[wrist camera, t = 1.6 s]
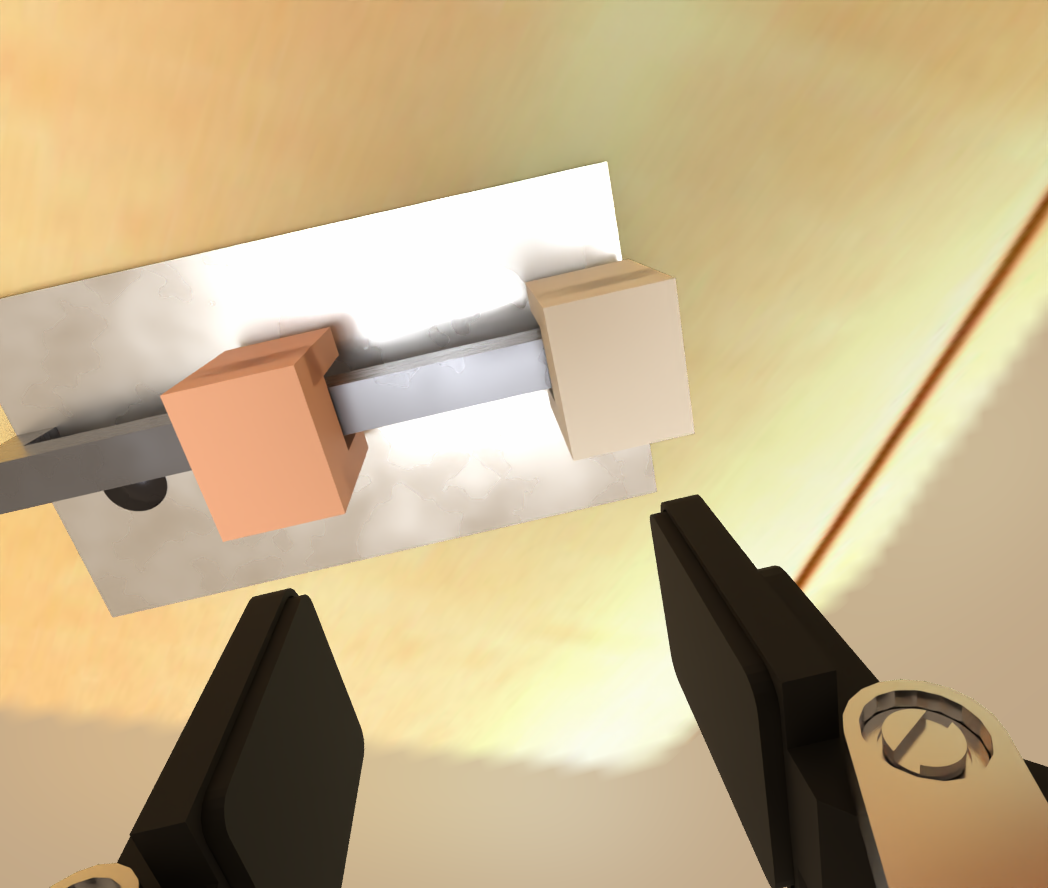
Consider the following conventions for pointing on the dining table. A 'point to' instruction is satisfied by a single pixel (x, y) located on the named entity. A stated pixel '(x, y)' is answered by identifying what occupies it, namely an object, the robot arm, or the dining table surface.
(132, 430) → the beam
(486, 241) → the bolt plate
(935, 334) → the dining table surface
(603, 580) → the dining table surface
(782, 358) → the dining table surface
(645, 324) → the fixed leg
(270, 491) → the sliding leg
